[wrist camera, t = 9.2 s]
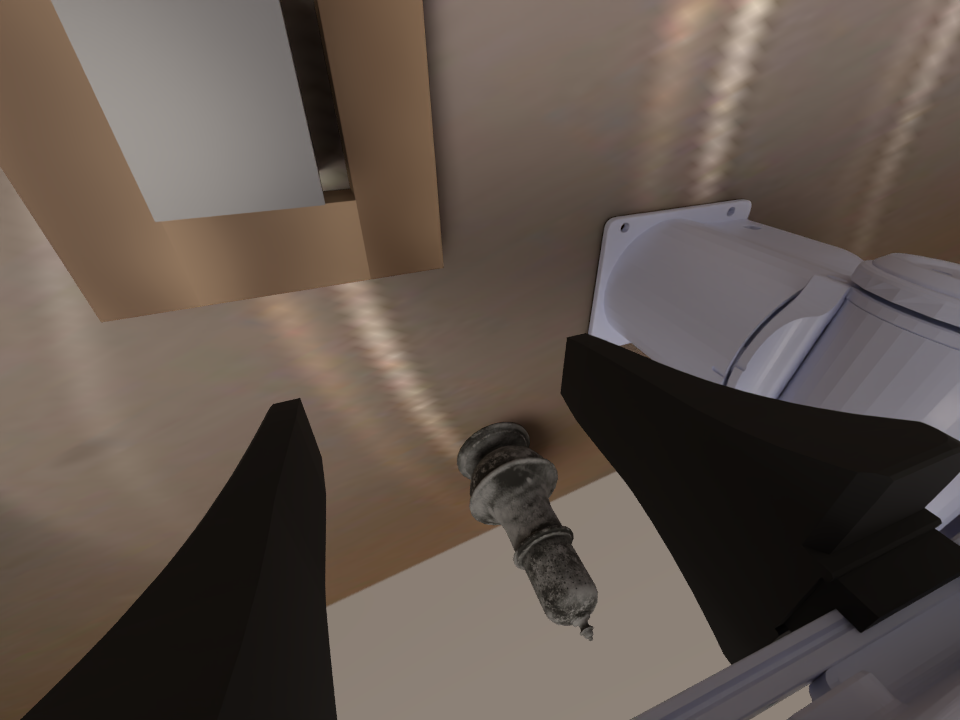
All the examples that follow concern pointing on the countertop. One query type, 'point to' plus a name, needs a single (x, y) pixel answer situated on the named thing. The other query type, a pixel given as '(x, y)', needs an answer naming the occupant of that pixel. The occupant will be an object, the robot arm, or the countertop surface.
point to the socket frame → (237, 237)
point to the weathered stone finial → (528, 519)
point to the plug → (199, 102)
